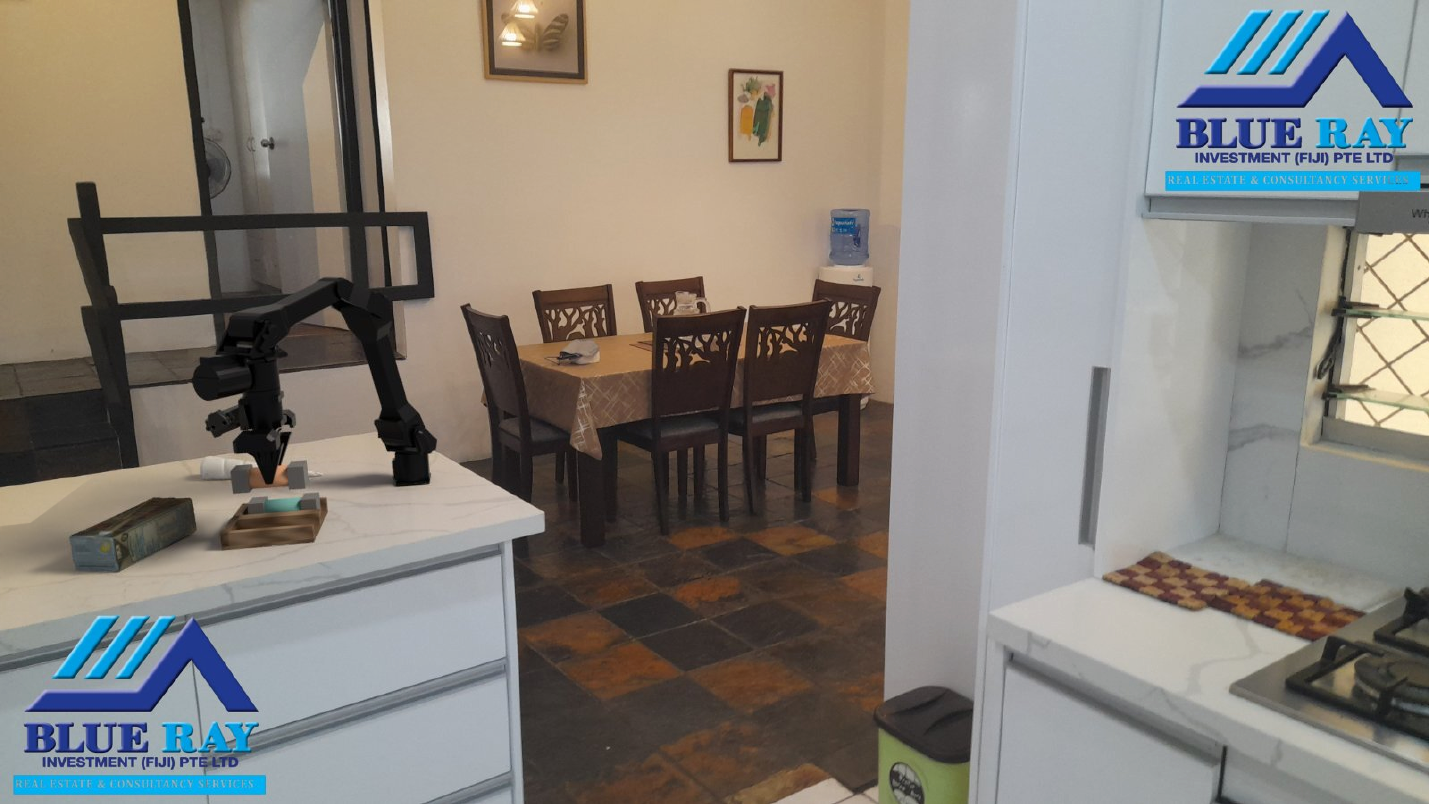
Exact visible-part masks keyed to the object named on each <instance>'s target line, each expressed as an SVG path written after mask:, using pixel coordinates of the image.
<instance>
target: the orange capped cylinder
mask: <svg viewBox="0 0 1429 804" xmlns="http://www.w3.org/2000/svg"><path fill="white" fill-rule="evenodd" d="M308 470H309V467H308V460H293V461H292V460H291V461H290V463H288V464H285V465H284V464H282V465H281V466H278V468H277V471H276V475H275V479H274V482H273V484H269V485H267V484H265V482H264V479H263V477H262V475H261V472H260V470H259V468H258V467H254V468H253V467H252V464H247V465H236V466H235V467H234V468H233V469H232V470H231V471H230V473H231V479H230V480H231V487H232V488H231V489H232V494H233V495H236V494H237V495H239V494H250V493H251V492H252V491H253V490H255V489H266V488H268V489H269V488H280V487H288V490H289V491H291V490H293V491H294V490H305V489H306V488H307V486H308V485H309V484H310V477H309V476H308Z"/></svg>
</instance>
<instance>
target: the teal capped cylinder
mask: <svg viewBox="0 0 1429 804" xmlns="http://www.w3.org/2000/svg"><path fill="white" fill-rule="evenodd" d="M320 498H321V497H320V492H308V493H303V495H302V496H300V497H287V498H286V497H285V498H275V499H274V498H273V499H272V498H271V499H269V497H268V496H267V495H266V496H256V497H255V496H252V497H251V498H250V500H249V501H248V502H247V503H248V504H247V505H248V514H249V515H250V514H262V513H275V512H288V511H300V510H313V509H321V507H320Z"/></svg>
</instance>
